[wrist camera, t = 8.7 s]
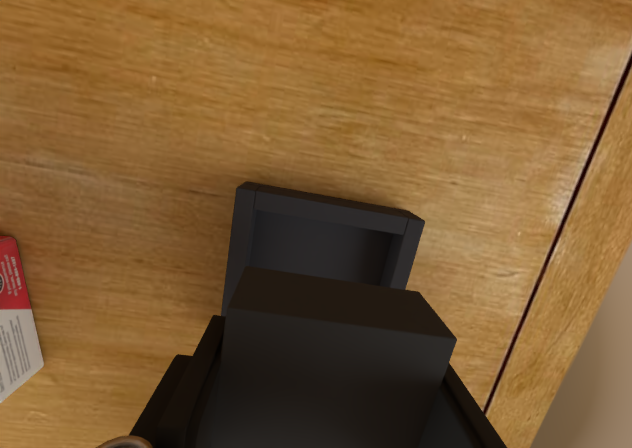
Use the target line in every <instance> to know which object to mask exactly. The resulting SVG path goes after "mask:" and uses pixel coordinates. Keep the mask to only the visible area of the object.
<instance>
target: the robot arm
mask: <svg viewBox="0 0 632 448" xmlns="http://www.w3.org/2000/svg"><path fill="white" fill-rule="evenodd" d="M225 319H226V317H225V316H218V315H213V317H212V319H211V321H210V323H209V325H208V327H207V329H206V331H205V333H204V334H203V336H202V338H201V340H200V342H199V344H198V346H197V348H196V350H195V352H194V354H193V356H187V355H179V354H178V355H176V356H175V358H174V359H173V361H172V362H171V364H170V366H169V368H168V369H167V371H166V373H165V374H164V376H163V378H162V380H161V381H160V383H159V385H158V386H157V388H156V390H155V391H154V393H153V395H152V397H151V398H150V400H149V402H148V403H147V405H146V407H145V409H144V410H143V412H142V414H141V415H140V417H139V419H138V421H137V422H136V424H135V426H134V427H133V429H132V431H131V432H130V434H129V436H121V437H117V438H115V439H112V440H109V441H107V442H105V443H103V444H101V445H100V446H98V447H96V448H211V441H212V433H213V425H214V417H215V409H216V402H217V394H218V386H219V378H220V371H221V363H222V361H221V351H222V343H223V335H224V327H225ZM418 448H507V447H506V445H505V444H504V442H503V441H502V439H501V438H500V436H499V435H498V434H497V432H496V431H495V429H494V428H493V426H492V425H491V423H490V422H489V420H488V419H487V417H486V416H485V415H484V413H483V412H482V410H481V409H480V407H479V406H478V404H477V403H476V401H475V400H474V398H473V397H472V396H471V394H470V393H469V391H468V390H467V388H466V387H465V385H464V384H463V382H462V381H461V379H460V378H459V377H458V375H457V374H456V372H455V371H454V369H453V368H452V366H451V365H450V363H448V366H447V369H446V372H445V375H444V377H443V380H442V383H441V386H440V387H439V389H438V392H437V395H436V398H435V401H434V403H433V406H432V409H431V412H430V415H429V417H428V420H427V423H426V426H425V429H424V431H423V434H422V437H421V440H420V443H419V446H418Z"/></svg>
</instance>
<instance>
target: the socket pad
mask: <svg viewBox="0 0 632 448" xmlns="http://www.w3.org/2000/svg"><path fill="white" fill-rule="evenodd" d="M424 224H425V221H424V220H422V219H421V218H419V217H418V216H416V215H414V214H413V213H411V212H410V211H407V210H401V209H396V208H390V207H385V206H379V205H374V204H368V203H363V202H357V201H352V200H346V199H341V198H335V197H330V196H324V195H318V194H313V193H307V192H302V191H296V190H291V189H285V188H280V187H274V186H269V185H263V184H258V183H252V182H245V183H243V184H241V185H240V186H238V187H237V188H236V196H235V204H234V212H233V221H232V229H231V237H230V245H229V254H228V262H227V270H226V278H225V286H224V295H223V303H222V311H221V316H225V317H226V311H227V307H228V305H229V302H230V300H231V298H232V296H233V293H234V291H235V289H236V287H237V284H238V282H239V280H240V278H241V275H242V273H243V271H244V269H245V267H246V266H251V267H257V268H264V269H271V270H277V271H284V272H290V273H297V274H304V275H310V276H317V277H324V278H330V279H337V280H343V281H350V282H357V283H363V284H370V285H376V286H383V287H390V288H396V289H403V290H405V289H406V285H407V282H408V278H409V275H410V271H411V268H412V265H413V261H414V258H415V254H416V251H417V248H418V244H419V241H420V237H421V234H422V231H423V227H424Z"/></svg>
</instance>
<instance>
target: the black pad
mask: <svg viewBox="0 0 632 448" xmlns="http://www.w3.org/2000/svg"><path fill="white" fill-rule="evenodd" d="M456 341H457V339H456V337H455V336H454V335H453V334H452V332H451V331H450V330H449V329H448V327H447V326H446V325H445V324H444V322H443V321H442V320H441V319H440V317H439V316H438V315H437V314H436V313H435V311H434V310H433V309H432V308H431V306H430V305H429V304H428V303H427V301H426V300H425V299H424V298H423V296H422V295H421V294H420V293H419V292H416V291H409V290H403V289H396V288H390V287H383V286H376V285H370V284H363V283H357V282H350V281H343V280H337V279H330V278H324V277H317V276H310V275H304V274H297V273H290V272H284V271H277V270H271V269H264V268H257V267H251V266H246V267H245V269H244V271H243V273H242V275H241V278H240V280H239V282H238V284H237V287H236V289H235V291H234V293H233V296H232V298H231V300H230V302H229V305H228V307H227V311H226V319H225V327H224V335H223V343H222V351H221V361H222V363H221V371H220V378H219V386H218V394H217V402H216V409H215V417H214V425H213V433H212V441H211V448H418V446H419V443H420V440H421V437H422V434H423V431H424V429H425V426H426V423H427V420H428V417H429V415H430V412H431V409H432V406H433V403H434V401H435V398H436V395H437V392H438V389H439V387H440V386H441V383H442V380H443V377H444V375H445V372H446V369H447V366H448V363H449V361H450V358H451V355H452V352H453V349H454V347H455V344H456Z"/></svg>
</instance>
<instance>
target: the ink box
mask: <svg viewBox="0 0 632 448" xmlns="http://www.w3.org/2000/svg"><path fill="white" fill-rule="evenodd" d="M43 366H44V362H43V358H42V354H41V349H40V345H39V340H38V335H37V331H36V327H35V323H34V318H33V314H32V310H31V306H30V300H29V298H28V292H27V287H26V283H25V278H24V274H23V270H22V264H21V261H20V256H19V252H18V247H17V245H16V240H15V239H14V238H12V237H10V236H0V403H1V402H2V401H4V400H5V399H6V398H7V397H8V396H9V395H10V394H12V393H13V392H14V391H15V390H16V389H18V388H19V387H20V386H21V385H22V384H24V383H25V382H26V381H27V380H28V379H29V378H30V377H32V376H33V375H34V374H35V373H36V372H38V371H39V370H40V369H41V368H42V367H43Z"/></svg>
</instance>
